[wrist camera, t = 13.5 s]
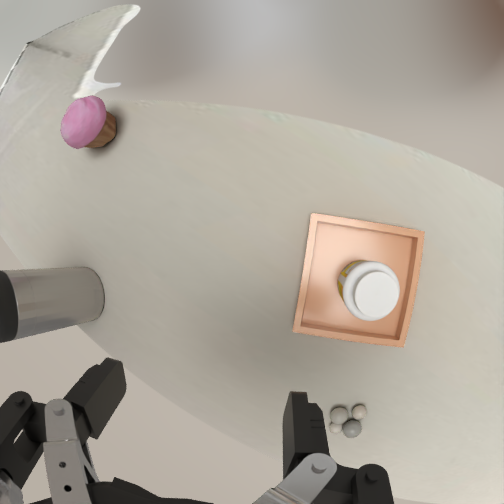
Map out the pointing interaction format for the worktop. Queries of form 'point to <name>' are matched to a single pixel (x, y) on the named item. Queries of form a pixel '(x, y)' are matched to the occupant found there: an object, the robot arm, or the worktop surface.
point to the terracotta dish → (336, 259)
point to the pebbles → (350, 427)
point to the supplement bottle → (368, 289)
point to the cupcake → (88, 123)
